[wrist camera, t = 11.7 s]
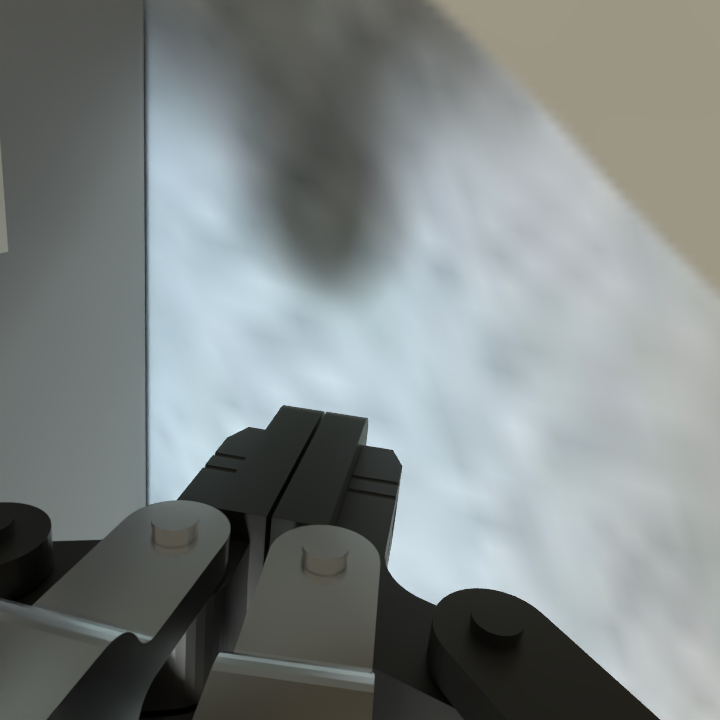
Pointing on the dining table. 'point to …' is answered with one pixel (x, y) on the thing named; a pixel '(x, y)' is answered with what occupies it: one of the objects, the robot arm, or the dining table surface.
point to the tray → (72, 262)
